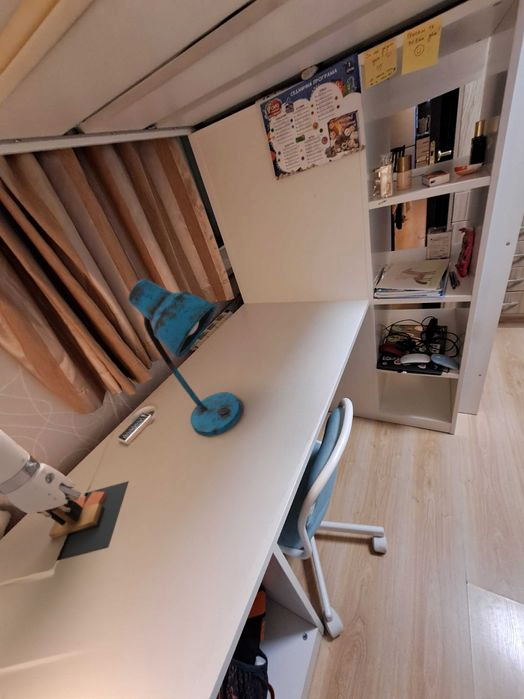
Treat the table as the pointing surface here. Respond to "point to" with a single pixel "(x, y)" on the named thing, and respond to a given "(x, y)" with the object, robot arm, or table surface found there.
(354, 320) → the table surface
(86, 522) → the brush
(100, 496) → the orange square tile
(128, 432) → the multiport hub
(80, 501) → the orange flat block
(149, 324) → the desk lamp
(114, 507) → the mat
